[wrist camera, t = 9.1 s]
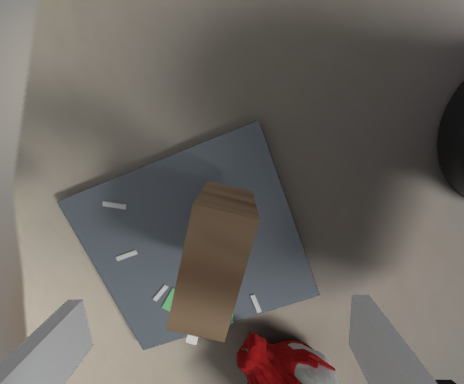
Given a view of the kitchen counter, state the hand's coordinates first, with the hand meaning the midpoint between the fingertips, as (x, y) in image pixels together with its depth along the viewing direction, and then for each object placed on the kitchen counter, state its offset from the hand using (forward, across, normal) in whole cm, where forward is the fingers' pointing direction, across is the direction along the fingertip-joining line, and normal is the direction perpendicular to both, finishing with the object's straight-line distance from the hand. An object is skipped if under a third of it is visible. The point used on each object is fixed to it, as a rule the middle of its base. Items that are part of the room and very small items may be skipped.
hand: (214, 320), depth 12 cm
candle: (+15, +5, -19) cm, 25 cm away
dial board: (+14, -4, -3) cm, 15 cm away
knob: (+13, -2, -4) cm, 14 cm away
